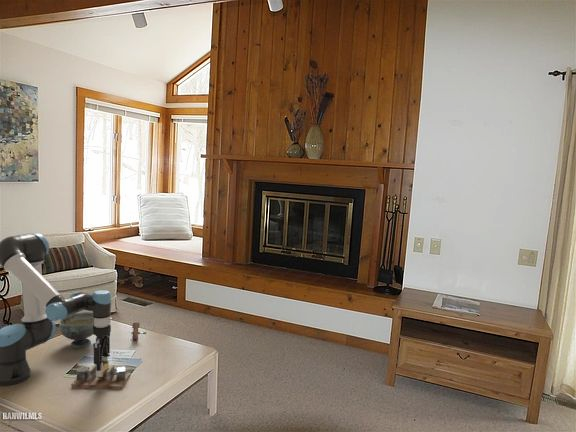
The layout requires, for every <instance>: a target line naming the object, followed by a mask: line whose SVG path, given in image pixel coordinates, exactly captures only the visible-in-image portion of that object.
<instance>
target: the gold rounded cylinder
mask: <svg viewBox="0 0 576 432" xmlns="http://www.w3.org/2000/svg"><path fill="white" fill-rule="evenodd" d="M102 363H103V377H98V378H106V371H107V370H108V369H109V368H110V365H109V364H110V363H109V361H103V360H102Z"/></svg>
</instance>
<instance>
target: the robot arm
mask: <svg viewBox="0 0 576 432" xmlns="http://www.w3.org/2000/svg"><path fill="white" fill-rule="evenodd" d="M49 251H50V244H49V240H48V239H47V238H46V237H45V236H44V235H43V234H41V233H38V232H32V233H31V232H30V233H24V234H18V235H12V236H7V237H5V238H4V239H2V240H1V241H0V266H1V267H2V269H4V270H5V271H9V272H11V274H12V275H13V276H14V277H16V278H17V279H18V280H19V281H20V282H21V286H22V288H21V289H22V290H21V291H22V300H23V311H24V316H23V317H22V318H21V321H20V322H21V323H16V324H15V323H14V324H9V325H6V326H4V327H2V328H0V385H6V386H12V385H16V384H19V383H22V382H24V381H26V380H27V379H29V378H30V377H31V375H32V374H31V371H32V370H31V368H30V366H29V363H28V360H27V351H28V350H29V351H30V350H31V349H33V348H35V347H38V346H40V345H42V344H45V343H46V342H49V341H50V340H51V339H52V338H53V337H54V336H55V333H56V329H57V328H56V323H55V322H56V321H59V320H60V319H63V318H65V317H67V316H70V315H72V314H76V313H81V312H82V311H87V312H89V311H90V312H92V313H93V325H94V326H93V335H94V336H95V337H96V338H95V342H93V344H92V347H93V365H94V364H96V377H103V363H102V360H103V361H108V360H109V357H111V354H110V351H111V350H110V349H111V346H110V345H111V342H110V341H111V332H112V324H111V323H112V322H111V321H112V316H111V314H112V313H111V308H112V297H111V292H110V291H109V290H107V289H106V290H103V289H99V290H95V291H94V292H93V293H88V292H84V291H74V292H72V294H70V295H69V297H67V298H65V297H64V296H63V295H62V294H60V293H59V291H58V290H57V289H56V288H54V286H53V285H52V284H51V283H50V282H49V281H48V280H47V279H46V278H45V277H44V276H43V269H42V264H43V263H44V262H45V256H46V255H47V254H48V253H49ZM108 362H109V361H108Z"/></svg>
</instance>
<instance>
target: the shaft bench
mask: <svg viewBox="0 0 576 432" xmlns="http://www.w3.org/2000/svg"><path fill="white" fill-rule="evenodd" d="M92 365H93V366H91V368H90V367H89V366H80V367H79V368H77V369H76V373H75V374H76V378H75V379H74V380H73V382H72V383H71V386H70V387H71V388H80V389H81V388H82V389H101V390H103V389H104V390H122V388H124V386H125V384H126V383H127V382H128V380H129V379H130V377H131V373H130V372H129V373H126V374H125V380H120V381H117V375H112V370H115V364H111V365H110V366H109V369H108V370H107V371H106V378H98V377H96V364H94V363H93V364H92Z"/></svg>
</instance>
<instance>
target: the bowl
mask: <svg viewBox="0 0 576 432" xmlns="http://www.w3.org/2000/svg"><path fill="white" fill-rule="evenodd" d="M58 325H59V330H60V333H61V335H62V336H63V337H64V338H66V339H69V340H71V341H72V342H71V343H70V347H71V348H76V349H80V348H81V349H82V348H87V347H88V346H90V345H91V343H92V341H91V340H90V339H89V338H90V337H91V336H93V335H94V334H93V326H94V325H93V312H91V311H90V312H89V311H87V312H86V311H84V312H77V313H75V314H72V315H70V316H67V317H65V318H63V319H60V320H58Z"/></svg>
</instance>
